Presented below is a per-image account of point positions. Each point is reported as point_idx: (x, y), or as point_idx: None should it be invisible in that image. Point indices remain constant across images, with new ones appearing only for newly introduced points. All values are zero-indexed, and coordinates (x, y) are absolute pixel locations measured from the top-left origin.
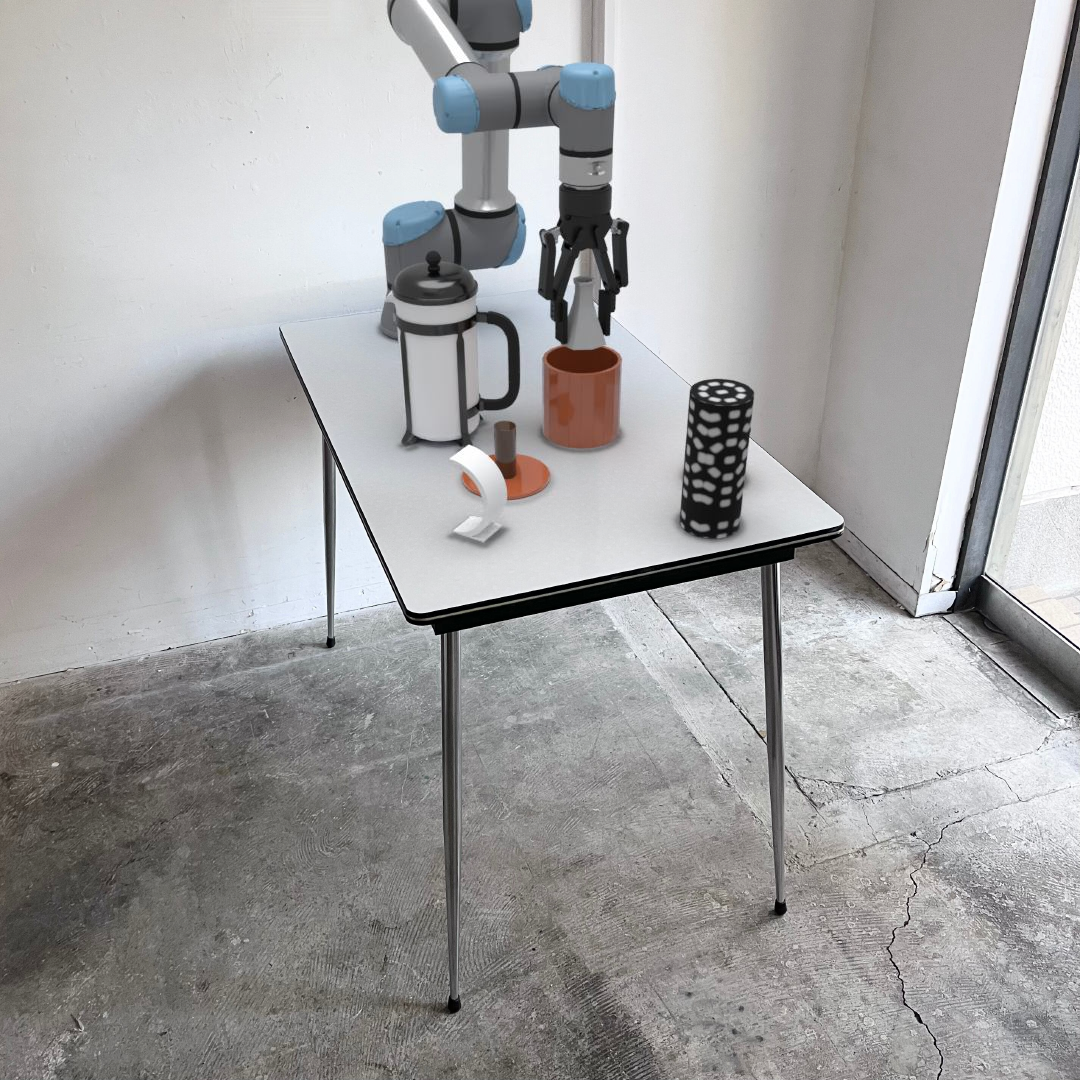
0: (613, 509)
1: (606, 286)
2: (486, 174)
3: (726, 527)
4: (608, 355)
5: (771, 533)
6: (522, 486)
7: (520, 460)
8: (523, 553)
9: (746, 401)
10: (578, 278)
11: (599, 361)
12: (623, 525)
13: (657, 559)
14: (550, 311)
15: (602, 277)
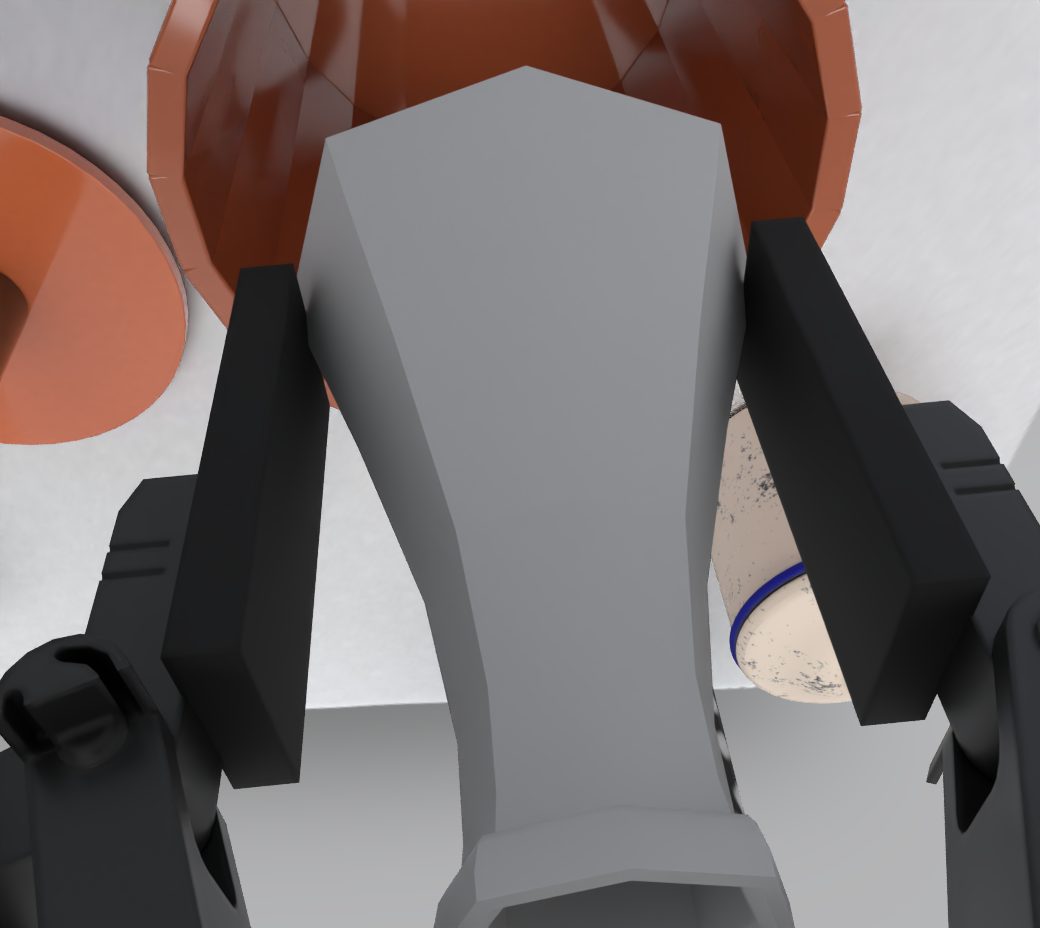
0: (374, 524)
1: (986, 710)
2: None
3: None
4: (805, 68)
5: (723, 673)
6: (51, 401)
7: (54, 210)
8: (42, 626)
9: None
10: (579, 872)
11: None
12: (373, 587)
13: (401, 694)
14: (106, 568)
15: (998, 837)
